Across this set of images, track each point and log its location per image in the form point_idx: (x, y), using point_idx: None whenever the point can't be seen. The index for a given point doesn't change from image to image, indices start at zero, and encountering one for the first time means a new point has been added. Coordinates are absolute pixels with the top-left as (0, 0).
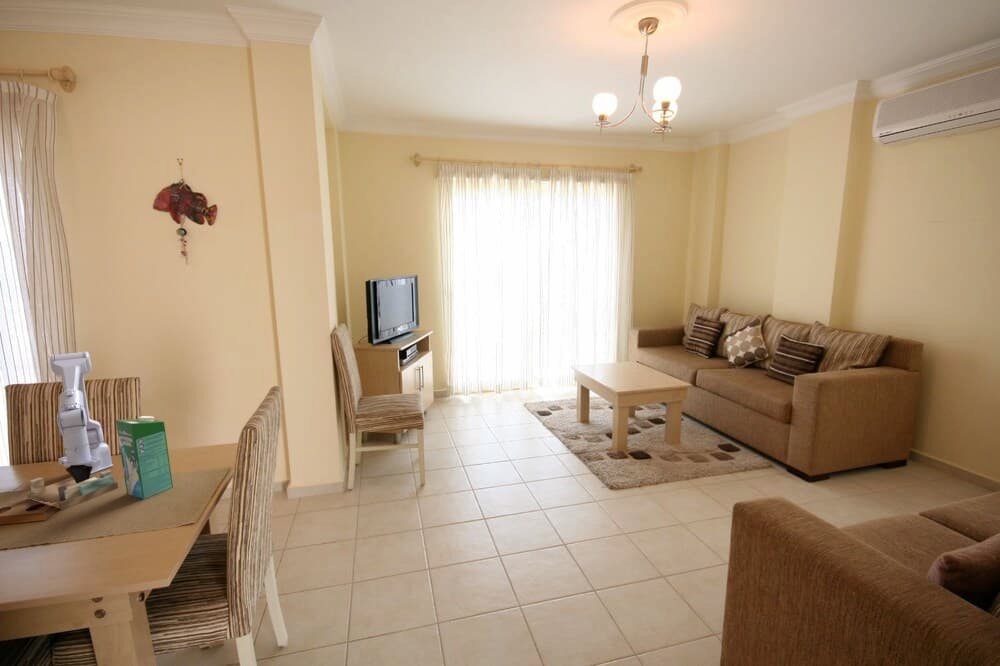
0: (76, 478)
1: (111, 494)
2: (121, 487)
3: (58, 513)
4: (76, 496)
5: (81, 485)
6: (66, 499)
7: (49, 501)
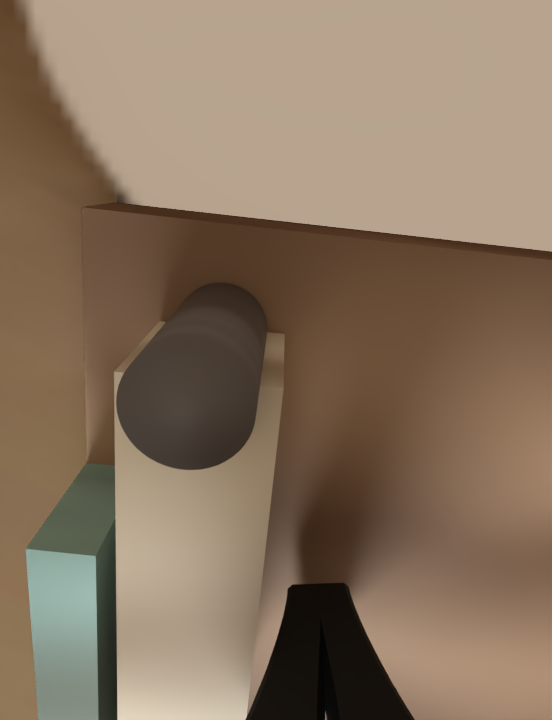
0: (341, 712)
1: (6, 584)
2: None
3: (45, 121)
4: None
5: (96, 583)
6: None
7: (415, 243)
